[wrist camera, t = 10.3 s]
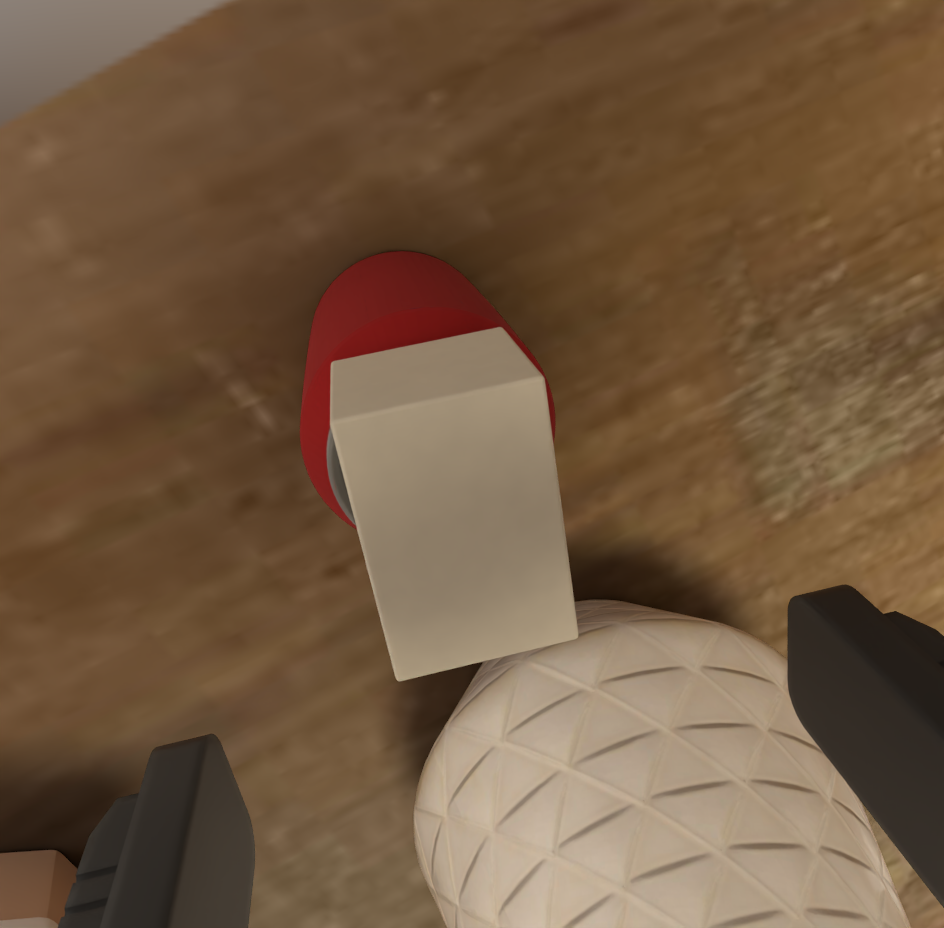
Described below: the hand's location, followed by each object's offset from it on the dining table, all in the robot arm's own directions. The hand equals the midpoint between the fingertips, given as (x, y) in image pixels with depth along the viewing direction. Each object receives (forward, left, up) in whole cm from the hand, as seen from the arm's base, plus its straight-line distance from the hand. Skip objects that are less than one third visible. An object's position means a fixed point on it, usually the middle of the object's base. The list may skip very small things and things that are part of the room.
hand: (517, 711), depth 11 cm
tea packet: (0, 0, -9) cm, 9 cm away
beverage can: (0, 0, -21) cm, 21 cm away
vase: (+19, +5, -21) cm, 29 cm away
